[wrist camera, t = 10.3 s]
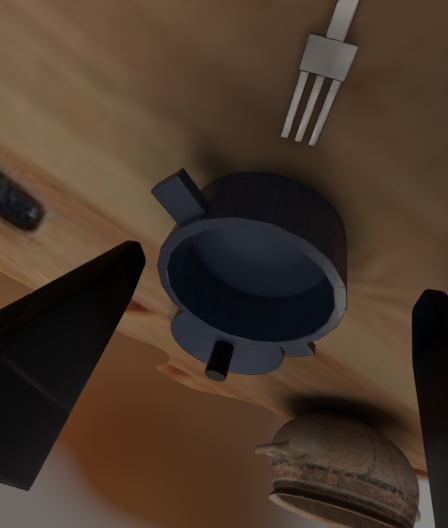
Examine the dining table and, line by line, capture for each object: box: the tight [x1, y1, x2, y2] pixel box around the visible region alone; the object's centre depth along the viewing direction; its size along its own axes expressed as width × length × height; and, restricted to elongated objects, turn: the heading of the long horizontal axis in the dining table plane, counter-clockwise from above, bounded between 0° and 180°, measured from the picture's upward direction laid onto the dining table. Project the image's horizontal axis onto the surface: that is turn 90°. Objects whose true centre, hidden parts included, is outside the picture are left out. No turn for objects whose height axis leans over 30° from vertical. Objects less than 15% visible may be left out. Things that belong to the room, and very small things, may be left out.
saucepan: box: [151, 168, 347, 357], centre depth 23 cm, size 14×19×6 cm
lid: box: [171, 311, 283, 381], centre depth 36 cm, size 15×15×5 cm
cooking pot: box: [254, 409, 421, 528], centre depth 41 cm, size 25×19×12 cm
